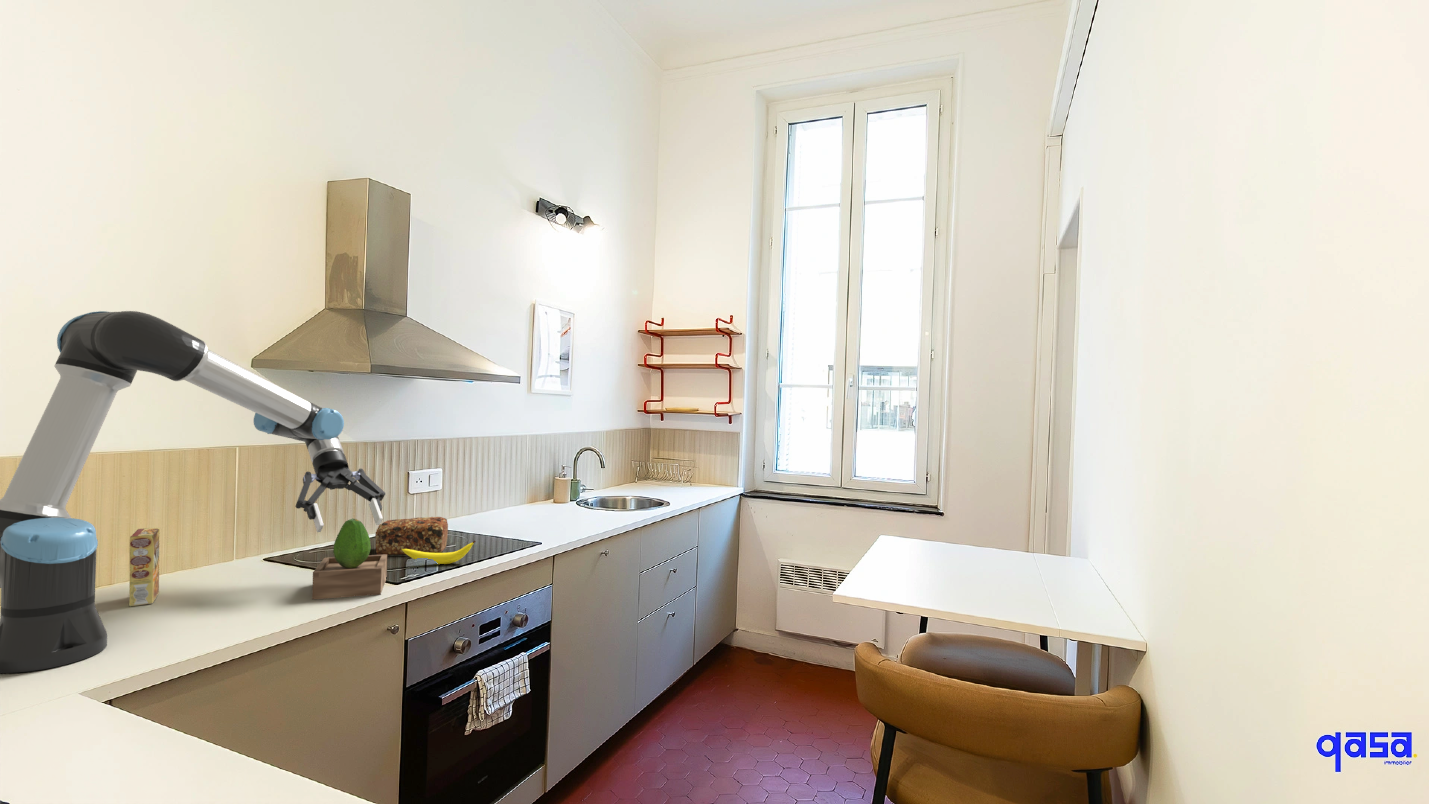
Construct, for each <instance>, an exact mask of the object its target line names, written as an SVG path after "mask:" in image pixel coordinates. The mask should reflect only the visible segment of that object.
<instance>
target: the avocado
mask: <svg viewBox="0 0 1429 804" xmlns="http://www.w3.org/2000/svg"><path fill="white" fill-rule="evenodd" d="M371 548H372V547H371V538H370V535H369V532H368V531H367V528H366V526H365V525H364V524H363V522H362V521H360V520H359V519H357V518H353V517H352V518H350V519H347V520H346V521H344V523H343V524H342V525H341V528H340V530H339V532H338V534H337V535H336V537H335V540H334V543H333V557H335V559H336V561H337V562H338V563H339V565H341V566H342V567H345V568H356V567H357V566H359V565H361V564H362V563H363V562H364V561H365V560H366V559H367V557H368V555H370V552H371Z"/></svg>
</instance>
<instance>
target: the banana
mask: <svg viewBox="0 0 1429 804" xmlns="http://www.w3.org/2000/svg"><path fill="white" fill-rule="evenodd" d="M475 543H476V540H473V541H472V542H470V543H468V544H466V545H465V546H463V547H462V548H460V549H458V550H456V551H451V552H449V551H448V552H439V553H429V552H421V551H416V550H410V549H402V551H403V552H404V553H405V554H404V555H407V556H408V557H410V558H411V559H413V560H415V559H417V558H428V559H433V560H434V561H436V562H437V563H438V564H437V565H440V564H444V565H449V564H450V565H451V564H453V563H456V562H458V561H461V559H462V558H464V557H465V556H466V555H467V554H468V552H469V551H470V550H471V549H472V547H473V545H474V544H475Z"/></svg>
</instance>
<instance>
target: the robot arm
mask: <svg viewBox="0 0 1429 804" xmlns="http://www.w3.org/2000/svg"><path fill="white" fill-rule="evenodd" d="M57 334H58V335H57V338H56V345H57V346H56V347H57V350H58V351H59V355H58V357H57V360H56V362H55V364H54V368H55V370H57V372H58V374H59V376H60V377H59V380H58V382H57V384H56V387H55V388H54V390H53V393H52V395H51V397H50V399H49V401H48V403H47V405H46V408H45V410H44V411H43V413H42V415H41V417H40V420H39V422H38V424H37V426H36V428H35V430H34V433H33V434H32V436H31V438H30V441H29V442H28V445H27V447H26V449H25V452H24V453H23V455H22V457H21V459H20V462H19V464H18V466H17V467H16V470H15V472H14V474H13V476H12V478H11V481H10V482H9V484H8V486H7V488H6V491H5V493H4V495H3V496H2V497H1V498H0V589H1V590H0V674H12V673H13V674H16V673H28V672H34V671H40V670H46V669H51V668H57V667H60V666H64V665H68V664H72V663H75V662H78V661H82V660H86V659H88V658H90V657H93V656H95V655H97V654H99V653H100V652H102V651H104V650H105V649H107V646H108V633H107V630H106V627H105V625H104V622H103V621H102V618H101V616H100V614H99V612H98V609H97V607H96V578H97V575H96V574H97V548H98V545H99V543H98V542H99V541H98V539H97V530H96V528H95V526H94V524H92V523H91V522H89V521H87V520H84V519H80V518H73V517H71V515H70V513H69V512H68V511H67V509H66V507H67V504H68V502H69V499H70V497H71V495H72V493H73V491H74V489H75V486H76V485H77V481H78V479H79V478H80V475H81V472H82V471H83V468H84V466H85V464H86V462H87V460H88V458H89V455H90V453H91V450H92V448H93V446H94V444H95V443H96V440H97V438H98V435H99V433H100V431H101V429H102V426H103V424H104V422H105V419H106V417H107V415H108V412H109V411H110V408H111V406H112V404H113V402H114V400H115V398H116V395H117V393H118V391H120V390H123V389H126V388H128V387H131V385H132V383H133V381H134V380H135V379H134V378H135V377H136V374H137V372H138V371H140V372H146V373H152V374H155V375H158V376H162V377H165V378H167V379H169V380H171V381H173V382H180V381H186V382H188V383H190V384H192V385H195V386H197V387H199V388H201V389H203V390H205V391H208V392H210V393H212V394H214V395H217V396H219V397H221V398H223V399H225V400H227V401H230V402H231V403H234V404H236V405H239V406H240V407H242V408H245V409H247V410H249V411H251V412H252V413H254V417H253V425H254V428H255V429H256V430H257V431H259V432H262V433H265V434H267V435H274V436H278V437H283V438H287V439H288V438H289V439H292V440H296V441H300V442H303V443H305V446H306V448H307V451H308V455H309V457H310V461H311V463H312V466H313V469H314V473H311V472H310V471H306V472H305V473H304V475H303V477H302V483H303V485H302V488H301V490H300V493H299V496H298V498H297V500H296V503H295V508H296V509H303V512H305V513H306V514H307V517H308V519H309V520H313V524H314V527H315V529H316V532H317V533H321V532H322V530H323V527H324V526H325V523H324V522H323V521H324V520H323V518H322V514H321V511H320V508H319V505H318V502H317V503H316V501H317V500H318V499H319V498H320V496H321V495H322V494H323V493H324V492H325V491H326V489H329V490H331V491H332V490H337V489H338V490H342V489H346V490H348V491H351V492H354V493H355V494H357V495H358V496H360V497H362V498H363V499H365V500H367V501H368V502H369V504H368V506H369V508H370V511H371V515H372V517H373V520H374V522H375V525H376V526H379V525H380V524H382V523H381V522H382V520H383V519H384V518H383V514H382V512H381V511H382V509H383V506H382V505H383V504H382V503H381V502H382V501H383V499H384V498H385V496H386V492H385V491H384V489H382V488H381V487H380V486H379V485H377V484H376V482H374V480H372V479H371V478H370V477H369V476H368V475H367V473H366V472H365V471H364V469H363V468H359V469H358V470H357V471H352V470H350V468H349V464H348V460H347V457H346V455H345V452H344V448H343V446H342V442H341V441H340V439H339V435H341V434H342V431H343V429H344V427H345V420H344V416H343V415H342V414H341V412H339V411H338V410H337V409H332V408H330V407H321V406H318V405H317V404H315V403H313V402H310V401H309V400H307V399H305V398H303V397H301V396H300V395H297V394H295V393H294V392H291V391H289V390H288V389H285V388H283V387H282V386H280V385H278V384H276V383H274V382H272V381H270V380H267V378H264V377H262V376H260V375H259V374H256V373H254V372H253V371H251V370H249V369H247V368H245V367H243V366H241V365H239V364H238V363H235V362H233V361H231V360H229V359H227V358H226V357H223V356H222V355H220V354H218V353H216V352H214V351H212V350H210V349H209V348H208V345H207V343H206V342H205V341H204V340H202V339H200V338H198V337H196V336H195V335H193V334H191V333H189V332H188V331H185V330H183V329H181V328H179V327H177V326H176V325H174V324H172V323H169V322H168V321H165V320H164V319H162V318H159V317H157V316H155V315H152V314H149V313H146V312H142V311H141V312H140V311H137V310H135V311H134V310H125V311H124V310H123V311H107V310H106V311H101V310H99V311H91V312H87V313H84V314H80V315H77V316H75V317H72V318H71V319H70V320H67V322H66V323H64V325H63V326H62V327H61V328H60V330H59V331H58V333H57ZM314 481H316V482H317V483H319V486H318V487H317V488H316V489H315V490H314V492H313V493H312V495H311V496H310V497H309V498H308V499H307V500H306V498H307V494H308V490H309V489H310V486H311V484H312V483H314ZM349 483H350V484H349Z"/></svg>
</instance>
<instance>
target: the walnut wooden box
mask: <svg viewBox="0 0 1429 804" xmlns="http://www.w3.org/2000/svg"><path fill="white" fill-rule="evenodd" d="M387 575H388V555H387V554H383V555H377V554H371V555H370V554H369V555H368V557H367V559H366V560H365V561H364V562H363V563H362V564H361V565H359V566H357V567H356V568H345V567H342V566H341V565H339V563H338V562H337V561H336V559H335V556H330V557H324V558H322V561H320V563H319V564H318V565H317V567H316V568H315V569H314V570H313V571H312V589H311V590H312V593H311V594H312V597H311V598H312V600H324V599H325V600H326V599H336V598H349V597H350V598H351V597H353V598H354V597H365V596H379V595H381V594H382V592H383V589H384V587H385V585H386V581H387V579H386V577H388V576H387Z"/></svg>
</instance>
